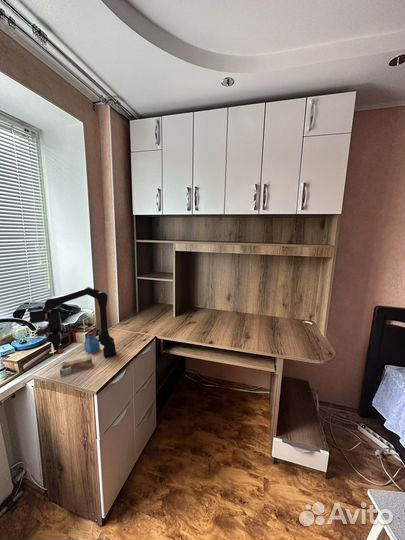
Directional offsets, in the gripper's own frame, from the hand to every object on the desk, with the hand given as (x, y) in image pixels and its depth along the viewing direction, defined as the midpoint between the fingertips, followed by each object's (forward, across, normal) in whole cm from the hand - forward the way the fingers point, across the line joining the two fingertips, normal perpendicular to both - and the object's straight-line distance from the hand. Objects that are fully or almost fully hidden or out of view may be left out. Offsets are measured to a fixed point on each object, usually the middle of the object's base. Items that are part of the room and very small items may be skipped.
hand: (58, 346), depth 126 cm
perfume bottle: (+12, -12, +16) cm, 23 cm away
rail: (+12, +7, +9) cm, 17 cm away
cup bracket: (+12, +7, +4) cm, 14 cm away
